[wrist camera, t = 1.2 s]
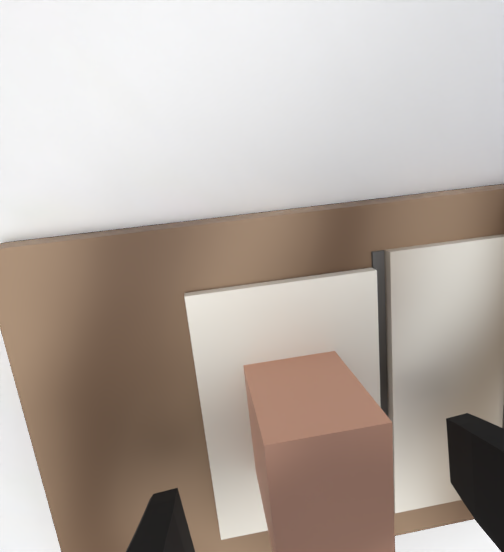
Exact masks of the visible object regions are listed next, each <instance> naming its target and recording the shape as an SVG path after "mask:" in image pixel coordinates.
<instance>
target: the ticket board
mask: <svg viewBox="0 0 504 552" xmlns="http://www.w3.org/2000/svg"><path fill="white" fill-rule="evenodd" d="M364 268H373V269H375V270H377V293H378V329H379V366H380V403H381V409H382V410H383V411H384V413H385V414H386V415H387V416H388V418H389V419H390V420H391V421H392V428H393V479H394V531H395V536H396V535H401V534H406V533H411V532H415V531H420V530H425V529H430V528H434V527H439V526H444V525H449V524H453V523H458V522H463V521H467V520H472V519H474V517H473V516H472V514H471V513H470V511H469V510H468V508H467V507H466V505H465V504H464V503H463V501H462V499H461V498H460V496H459V495H458V493H457V492H456V490H455V489H454V487H453V485H452V484H451V482H450V469H449V454H448V439H447V424H446V418H450V417H454V416H458V415H462V414H465V413H469V414H471V415H474V416H476V417H479V418H481V419H483V420H486V421H488V422H490V423H492V424H494V425H497V426H499V427H501V428H503V429H504V184H499V185H490V186H482V187H473V188H465V189H456V190H448V191H439V192H431V193H422V194H414V195H405V196H397V197H388V198H380V199H371V200H363V201H354V202H346V203H337V204H329V205H320V206H312V207H303V208H295V209H286V210H278V211H269V212H261V213H252V214H244V215H235V216H227V217H218V218H210V219H201V220H193V221H184V222H176V223H167V224H159V225H150V226H142V227H133V228H125V229H116V230H108V231H99V232H91V233H82V234H74V235H65V236H57V237H48V238H40V239H31V240H23V241H14V242H6V243H1V244H0V329H1V333H2V336H3V340H4V344H5V347H6V351H7V355H8V358H9V362H10V366H11V369H12V373H13V377H14V380H15V384H16V388H17V391H18V395H19V399H20V402H21V406H22V409H23V413H24V417H25V420H26V424H27V428H28V431H29V435H30V439H31V442H32V446H33V450H34V453H35V457H36V461H37V464H38V468H39V471H40V475H41V479H42V482H43V486H44V490H45V493H46V497H47V501H48V504H49V508H50V512H51V515H52V519H53V523H54V526H55V530H56V533H57V537H58V541H59V544H60V548H61V552H126V550H127V548H128V546H129V544H130V542H131V540H132V538H133V536H134V533H135V531H136V529H137V527H138V525H139V523H140V520H141V518H142V516H143V514H144V511H145V509H146V507H147V504H148V502H149V500H150V498H151V497H152V495H153V494H155V493H159V492H163V491H166V490H170V489H174V488H178V491H179V495H180V498H181V502H182V506H183V509H184V513H185V517H186V520H187V524H188V527H189V531H190V535H191V538H192V542H193V546H194V549H195V552H273V551H272V547H271V542H270V537H269V532H268V531H263V532H258V533H253V534H248V535H243V536H238V537H233V538H228V539H223V540H221V536H220V530H219V523H218V516H217V510H216V503H215V496H214V490H213V483H212V477H211V470H210V463H209V457H208V450H207V443H206V437H205V430H204V424H203V417H202V410H201V404H200V397H199V390H198V384H197V377H196V370H195V364H194V357H193V351H192V344H191V337H190V331H189V324H188V317H187V311H186V304H185V298H184V295H185V293H188V292H196V291H203V290H210V289H218V288H225V287H232V286H240V285H247V284H254V283H262V282H269V281H276V280H284V279H291V278H298V277H306V276H313V275H320V274H328V273H335V272H342V271H350V270H357V269H364Z"/></svg>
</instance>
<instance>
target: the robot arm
mask: <svg viewBox="0 0 504 552" xmlns="http://www.w3.org/2000/svg"><path fill="white" fill-rule="evenodd" d="M446 424H447V439H448V454H449V469H450V482H451V484H452V485H453V487H454V489H455V490H456V492H457V493H458V495H459V496H460V498H461V499H462V501H463V503H464V504H465V505H466V507H467V508H468V510H469V511H470V513H471V514H472V516H473V517H474V519H475V520H476V521H477V523H478V524H479V525H480V526H481V527H482V529H483V530H484V531H485V532H486V534H487V535H488V536H489V537H490V538H491V540H492V541H493V542H494V543H495V544H496V546H497V547H498V548H499V549H500V550H501V552H504V429H503V428H501V427H499V426H497V425H494V424H492V423H490V422H488V421H486V420H483V419H481V418H479V417H476V416H474V415H471V414H469V413H465V414H462V415H458V416H454V417H450V418H446ZM126 552H195V549H194V546H193V542H192V538H191V535H190V531H189V527H188V524H187V520H186V517H185V513H184V509H183V506H182V502H181V498H180V495H179V491H178V488H174V489H170V490H166V491H163V492H159V493H155V494H153V495H152V497H151V498H150V500H149V502H148V504H147V507H146V509H145V511H144V514H143V516H142V518H141V520H140V523H139V525H138V527H137V529H136V531H135V533H134V536H133V538H132V540H131V542H130V544H129V546H128V548H127V550H126Z"/></svg>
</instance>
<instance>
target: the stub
mask: <svg viewBox="0 0 504 552" xmlns="http://www.w3.org/2000/svg"><path fill="white" fill-rule="evenodd" d="M184 298H185V304H186V311H187V317H188V324H189V331H190V337H191V344H192V351H193V357H194V364H195V370H196V377H197V384H198V390H199V397H200V404H201V410H202V417H203V424H204V430H205V437H206V443H207V450H208V457H209V463H210V470H211V477H212V483H213V490H214V496H215V503H216V510H217V516H218V523H219V530H220V536H221V540H223V539H228V538H233V537H238V536H243V535H248V534H253V533H258V532H263V531H268V532H269V537H270V542H271V547H272V551H273V552H395V531H394V479H393V428H392V421H391V420H390V419H389V418H388V416H387V415H386V414H385V413H384V411H383V410H382V409H381V403H380V366H379V329H378V293H377V270H375V269H373V268H364V269H357V270H350V271H342V272H335V273H328V274H320V275H313V276H306V277H298V278H291V279H284V280H276V281H269V282H262V283H254V284H247V285H240V286H232V287H225V288H218V289H210V290H203V291H196V292H188V293H185V295H184Z"/></svg>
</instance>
